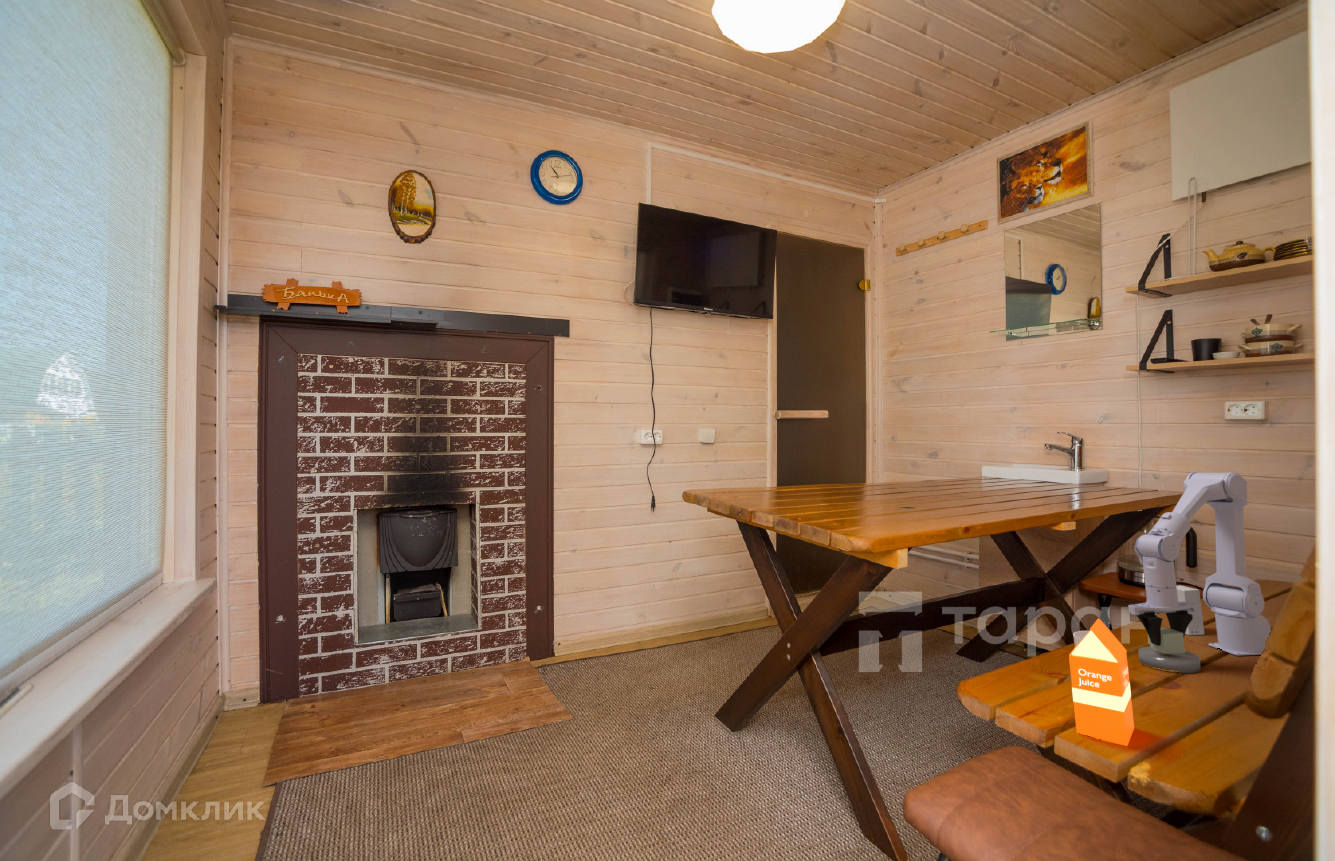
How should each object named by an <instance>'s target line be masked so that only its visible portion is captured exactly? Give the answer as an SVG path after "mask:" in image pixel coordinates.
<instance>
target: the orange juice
mask: <svg viewBox="0 0 1335 861" xmlns="http://www.w3.org/2000/svg"><path fill="white" fill-rule="evenodd" d="M1089 631H1090V632H1089V633H1087V634H1088V635H1087V634H1086V635H1087V636H1086V637H1085V638H1083V639H1082V640H1081V643H1078V644H1077V646H1076V647H1075V646H1074V648H1073V649H1072V651H1071V652H1070V653H1069V655H1068V660H1069V661H1068V662H1069V669H1070V679H1071V680H1070V681H1071V692H1072V702H1073V708H1074V720H1075V729H1076V734H1077V733H1080V734H1083V735H1088V736H1091V737H1094V738H1093V739H1095V738H1096V740H1099V739H1101V740H1100V741H1103V742H1108V743H1113V744H1117V745H1121V746H1125V747H1128V745H1129V742H1130V740H1131V737H1132V735H1133V732H1134V729H1135V724H1134V712H1133V703H1132V694H1131V693H1132V692H1131V683H1130V674H1129V665H1128V659H1127V658H1128V657H1127V656H1128V654H1127V652H1128V650H1127V649H1126V648H1125V647H1124V646H1123V644H1122V643H1121V642H1120V641H1119V640H1118V639H1117V637H1116V636H1115V635H1114V634H1113V633H1112V632H1111V630H1110V629H1109V628H1108V627H1107V626H1106V625H1105V623H1104V622H1103V621H1102V620H1101V619H1100V618H1099V617H1098V618H1097V619H1096V621H1095V622H1094V623H1093V624H1092V625H1091V626H1090V628H1089ZM1083 735H1082V736H1083ZM1091 737H1090V738H1091Z"/></svg>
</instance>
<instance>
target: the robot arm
mask: <svg viewBox="0 0 1335 861" xmlns="http://www.w3.org/2000/svg"><path fill="white" fill-rule="evenodd" d="M1183 489H1184V492H1183V493H1182V495H1181V497H1180V498H1179V500H1178V501H1177V504H1176V505H1175V507H1174V508H1173V510H1172V511H1171V512H1170V511H1169V512H1168V511H1167V512H1164V513H1163V514H1162V515H1161V516H1160V518H1159V519H1158V520H1157V522H1156V523H1155V524H1154V526H1152V528H1151V529H1150V531H1149V532H1148V533H1145V534H1142V535H1140V536H1139V537H1138V538H1137V539H1136V540H1135V541H1136V542H1135V545H1134V546H1133V547H1134V551H1135V554H1136V555H1137V556H1138V558H1139V563H1140V565H1142V568H1143V577H1144V586H1145V595H1146V601H1145V602H1142V603H1135V604H1128V614H1131V615H1133V616H1136V617H1137V618H1138V619H1139V621H1140V623H1141V624H1142V626H1143V627H1144V628H1145V631H1146V634H1147V635H1148V639H1149V638H1150V641H1151V643H1152V644H1155V645H1158V646H1160V645H1161V633H1160V630H1161V628H1162V622H1163V618H1162V617H1159V616H1158V615H1157V614H1165V615H1166V618H1167V621H1168V624H1169V628H1170V629H1173V630H1176V631H1179V632H1182V633H1183V637H1184V638H1185V636H1186V634H1185V632H1186V629H1187V627H1188V625H1189V623H1190V622H1191V621H1192V619H1193V616H1192V614H1188V612H1190V611H1192V612H1199V610H1198V604H1197V603H1193V602H1178V596H1177V587H1176V586H1177V579H1176V569H1175V562H1174V561H1175V560H1176V559H1177V558H1178V557H1179V556H1180V551H1181V550H1180V548H1181V545H1182V542H1181V541H1182V540H1183V539H1184V537H1185V536H1186V534H1187V533H1188V532H1189V530H1190V529H1191V528H1192V523H1191V521H1190V520H1191V518H1193V516H1194V515H1195V514H1196V513H1197V512H1198V511H1199V510H1201V508H1202V507H1203V506H1204V505H1208V506H1210V507H1211V508H1212V509H1214V511H1215V512H1214V522H1215V524H1214V526H1215V562H1216V564H1215V566H1216V572H1215V573H1212V574H1211V575H1209V576H1207V577H1206V578H1205V586H1204V588H1203V591H1202V599H1203V601H1204V603H1205V605H1207V607H1208V608H1210V612H1214V617H1215V626H1216V636H1217V642H1213V643H1212V642H1209V643H1208V647H1209V646H1210V647H1213V648H1214V649H1217V648H1220V649H1222V650H1221V651H1222V652H1223V651H1224V652H1227V653H1229V654H1232V655H1234V656H1252V655H1253V656H1255V655H1256V656H1257V655H1262V654H1261V652H1262V651H1263V650H1264V648H1265V641H1266V640H1267V638H1268V637H1269V633H1270V632H1271V633H1272V629H1271V625H1270V623H1269V620H1268V619H1267V618H1266V617H1265V616H1264V615H1262V614H1261V613H1262V612H1263V611H1264V609H1265V598H1264V596H1263V594H1262V590H1261V585H1260V584H1259V583H1258V582H1256V581H1255V580H1253V578H1251V577H1249V576H1248V575H1247V574H1246V549H1245V548H1246V547H1245V546H1246V545H1245V544H1246V543H1245V542H1246V541H1245V512H1244V511H1245V510H1244V508H1245V506H1248V483H1247V481H1246V480H1245V478H1244V477H1243V476H1242V475H1241V474H1240V473H1238V472H1236V471H1235V472H1234V471H1232V472H1231V471H1229V472H1197V471H1193V472H1189V473H1188V475H1187V476H1186V478H1185V480H1183ZM1150 641H1149V642H1150ZM1220 649H1219V650H1220Z"/></svg>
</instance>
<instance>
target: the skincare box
mask: <svg viewBox="0 0 1335 861" xmlns="http://www.w3.org/2000/svg"><path fill="white" fill-rule="evenodd" d="M1176 587H1177V596H1178V602H1193V603H1197V604H1198V610H1199V612H1192V611H1190V612H1188V614H1192V616H1193V619H1192V621H1191V622H1190V623H1189V625H1188V627H1187V629H1186V632H1185V635H1187V636H1200V635H1201V636H1202V635H1205V627H1204V618H1203V610H1202V609H1203V608H1202V603H1201V602H1202V601H1201V594H1200V593H1201V592H1200V589H1197V588H1193V587H1189V586H1185V585H1176Z"/></svg>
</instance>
